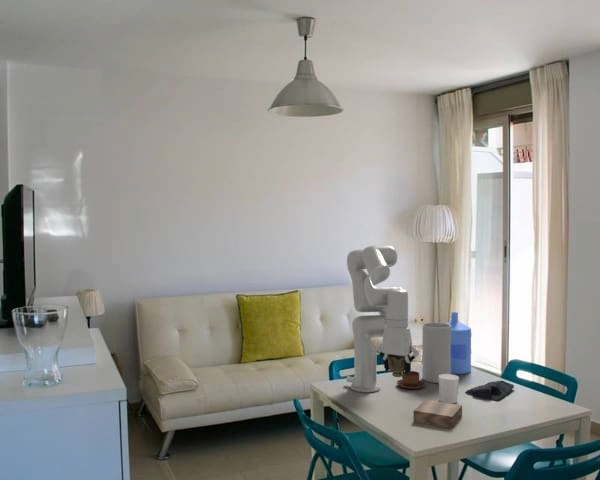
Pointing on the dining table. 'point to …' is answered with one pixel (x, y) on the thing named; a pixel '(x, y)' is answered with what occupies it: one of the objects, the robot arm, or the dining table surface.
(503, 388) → the black crumpled fabric piece
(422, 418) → the walnut plinth
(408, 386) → the cup and saucer
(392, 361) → the cup
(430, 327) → the cylinder vase
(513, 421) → the dining table surface
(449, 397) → the white cup
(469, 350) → the water jug
